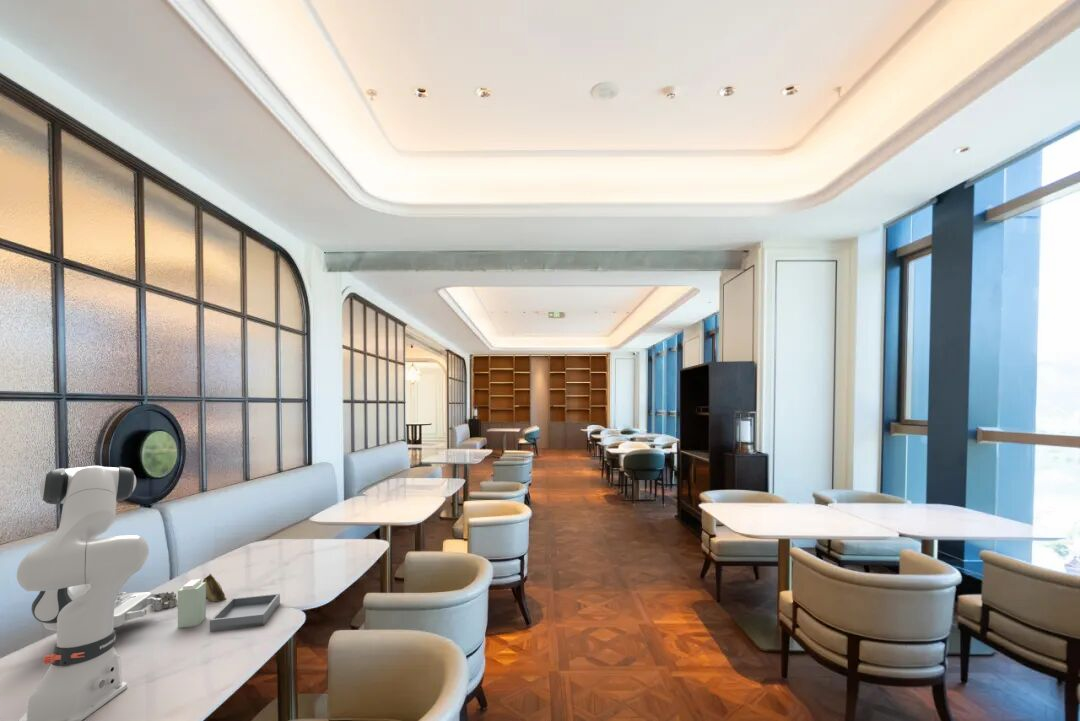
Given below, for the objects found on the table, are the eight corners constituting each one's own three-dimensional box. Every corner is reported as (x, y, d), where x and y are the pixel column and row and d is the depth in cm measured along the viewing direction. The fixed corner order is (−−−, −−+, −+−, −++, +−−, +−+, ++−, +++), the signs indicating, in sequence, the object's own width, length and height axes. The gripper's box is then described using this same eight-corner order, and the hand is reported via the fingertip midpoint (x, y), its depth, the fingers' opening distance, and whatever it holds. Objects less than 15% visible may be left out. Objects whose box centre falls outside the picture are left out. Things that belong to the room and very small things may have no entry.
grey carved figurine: (177, 607, 188) (177, 595, 188) (151, 613, 184) (151, 601, 184) (175, 598, 197) (175, 587, 197) (151, 603, 192) (151, 592, 192)
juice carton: (197, 625, 172) (197, 585, 172) (177, 627, 170) (177, 586, 171) (205, 617, 178) (205, 578, 178) (186, 619, 176) (186, 580, 177)
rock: (193, 591, 196) (191, 596, 188) (209, 569, 200) (208, 573, 192) (220, 603, 200) (218, 609, 191) (235, 582, 203) (235, 586, 195)
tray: (263, 625, 170) (263, 614, 170) (209, 631, 167) (209, 620, 167) (280, 603, 188) (279, 593, 188) (231, 608, 185) (231, 598, 185)
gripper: (84, 615, 159) (135, 610, 162) (124, 590, 179) (168, 586, 182) (84, 636, 159) (135, 630, 162) (124, 609, 179) (168, 604, 182)
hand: (153, 606), depth 172 cm, fingers open, 8 cm apart
